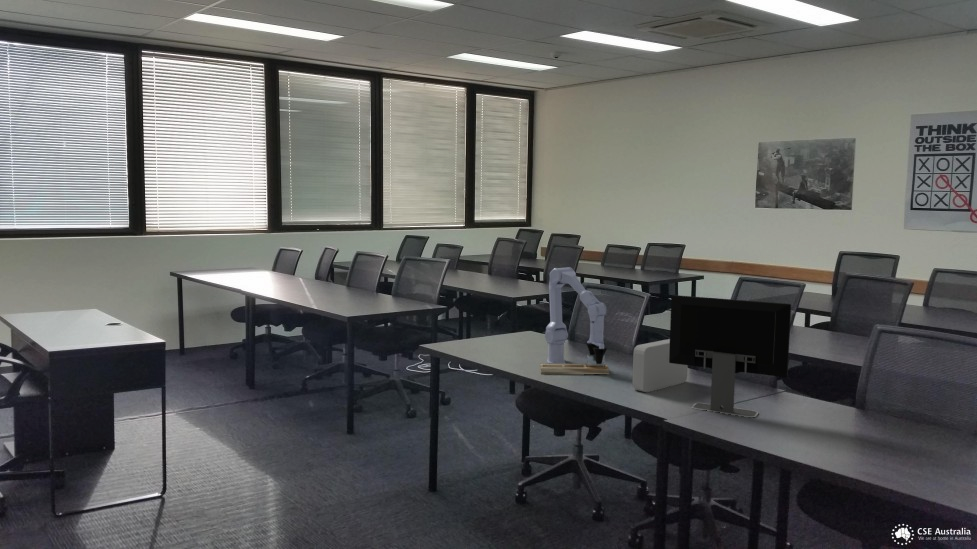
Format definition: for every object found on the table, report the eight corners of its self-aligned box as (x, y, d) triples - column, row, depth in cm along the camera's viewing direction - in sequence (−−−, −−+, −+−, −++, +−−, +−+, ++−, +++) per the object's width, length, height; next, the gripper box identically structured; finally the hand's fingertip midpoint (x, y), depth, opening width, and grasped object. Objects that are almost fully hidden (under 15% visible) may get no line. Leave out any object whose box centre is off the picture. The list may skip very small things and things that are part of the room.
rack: (540, 368, 323) (540, 362, 323) (606, 369, 322) (606, 363, 322) (540, 373, 314) (541, 367, 314) (609, 374, 313) (609, 368, 313)
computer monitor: (786, 416, 256) (792, 303, 251) (782, 422, 248) (788, 306, 244) (670, 399, 276) (674, 294, 272) (664, 404, 269) (667, 296, 265)
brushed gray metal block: (587, 369, 319) (587, 354, 318) (602, 369, 320) (603, 354, 319) (588, 370, 316) (588, 356, 316) (604, 370, 317) (604, 355, 316)
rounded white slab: (671, 378, 308) (673, 336, 306) (687, 382, 302) (688, 339, 300) (627, 389, 290) (628, 344, 288) (642, 393, 284) (644, 348, 282)
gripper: (582, 328, 322) (582, 358, 324) (593, 334, 308) (592, 366, 310) (598, 327, 324) (597, 357, 325) (609, 333, 309) (608, 365, 311)
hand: (596, 361), depth 317 cm, fingers open, 7 cm apart
